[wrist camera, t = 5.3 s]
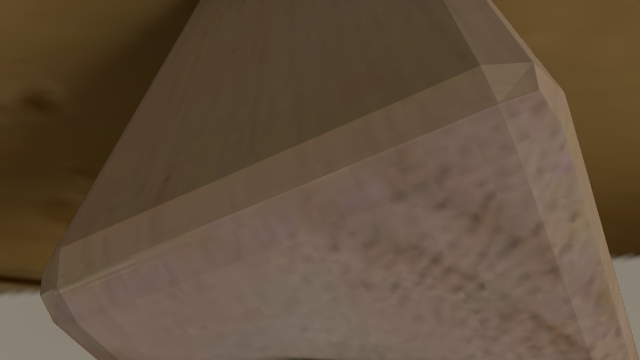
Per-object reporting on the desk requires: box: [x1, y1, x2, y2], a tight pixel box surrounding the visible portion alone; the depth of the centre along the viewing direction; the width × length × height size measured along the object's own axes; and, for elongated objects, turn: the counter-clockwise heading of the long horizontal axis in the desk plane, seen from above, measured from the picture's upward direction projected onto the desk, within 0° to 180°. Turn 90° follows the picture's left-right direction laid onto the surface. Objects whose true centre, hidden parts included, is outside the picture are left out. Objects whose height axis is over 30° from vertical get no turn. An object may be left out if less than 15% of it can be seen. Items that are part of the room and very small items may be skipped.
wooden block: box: [40, 0, 639, 360], centre depth 19 cm, size 10×10×20 cm
